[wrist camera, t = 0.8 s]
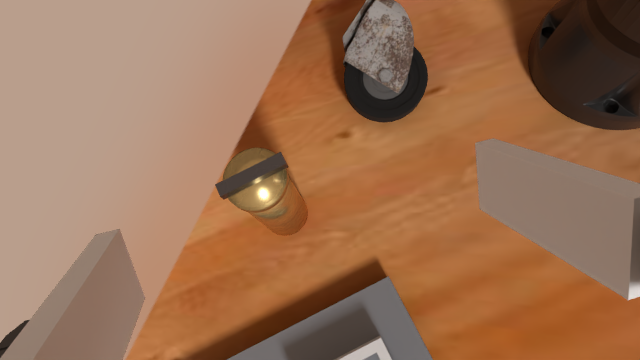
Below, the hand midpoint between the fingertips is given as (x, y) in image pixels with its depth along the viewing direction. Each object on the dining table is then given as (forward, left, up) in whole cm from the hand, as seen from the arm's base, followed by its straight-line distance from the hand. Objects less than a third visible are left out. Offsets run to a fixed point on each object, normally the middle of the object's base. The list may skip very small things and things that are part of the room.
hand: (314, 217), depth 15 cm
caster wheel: (-13, -17, -26) cm, 34 cm away
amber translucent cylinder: (+3, -8, -25) cm, 27 cm away
